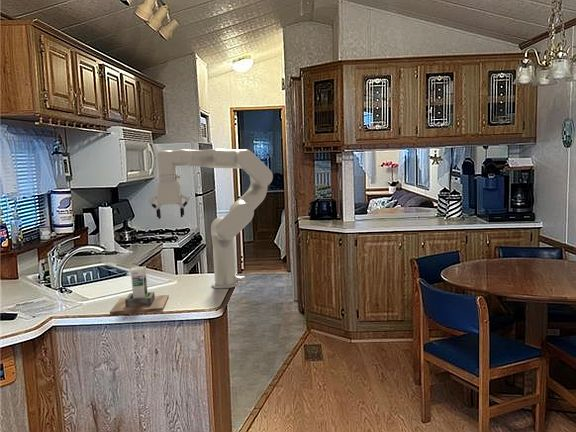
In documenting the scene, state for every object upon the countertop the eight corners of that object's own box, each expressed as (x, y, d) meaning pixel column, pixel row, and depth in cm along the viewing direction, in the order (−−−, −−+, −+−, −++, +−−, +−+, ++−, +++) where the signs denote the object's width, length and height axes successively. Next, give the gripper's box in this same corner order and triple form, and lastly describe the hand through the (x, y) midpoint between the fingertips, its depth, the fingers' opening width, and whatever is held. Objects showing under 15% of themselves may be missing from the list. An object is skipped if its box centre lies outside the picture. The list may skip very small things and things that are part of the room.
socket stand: (168, 297, 223) (168, 288, 223) (162, 310, 203) (162, 300, 203) (120, 301, 221) (119, 291, 220) (110, 314, 201) (109, 304, 201)
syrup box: (133, 305, 208) (130, 269, 207) (134, 301, 214) (131, 266, 213) (148, 303, 210) (145, 268, 208) (148, 300, 216) (145, 265, 214)
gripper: (188, 177, 233) (191, 215, 235) (148, 179, 231) (151, 218, 233) (187, 178, 226) (190, 217, 227) (146, 180, 224) (149, 220, 225)
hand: (170, 217), depth 230 cm, fingers open, 9 cm apart
